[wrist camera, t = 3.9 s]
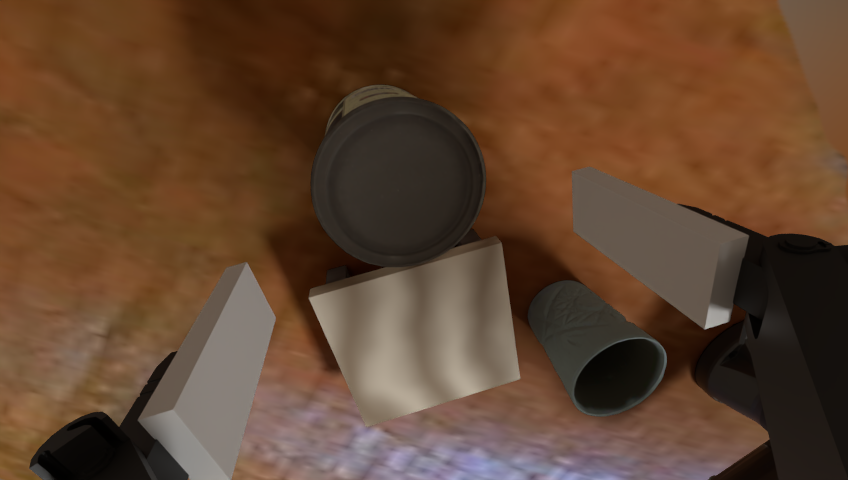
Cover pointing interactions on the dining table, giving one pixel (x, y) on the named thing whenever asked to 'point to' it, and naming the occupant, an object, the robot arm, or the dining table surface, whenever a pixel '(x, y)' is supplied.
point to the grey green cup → (595, 349)
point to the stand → (421, 329)
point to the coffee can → (396, 178)
